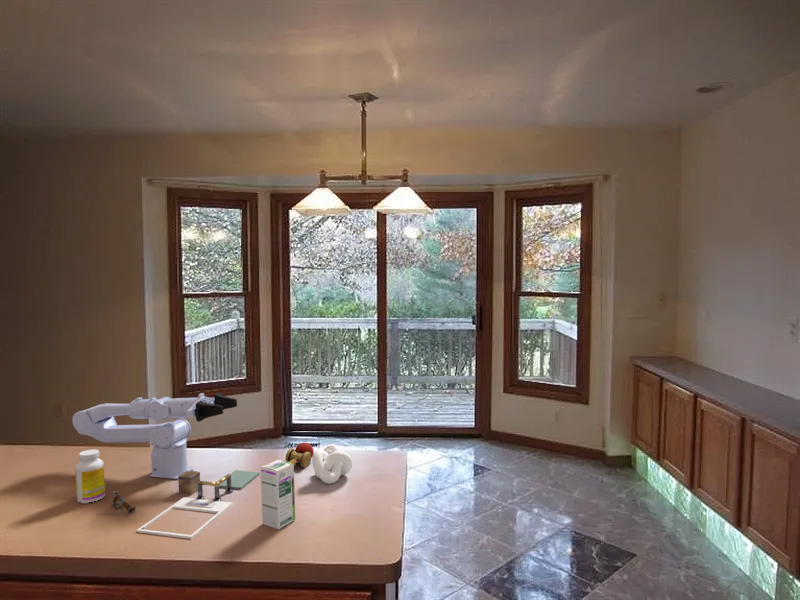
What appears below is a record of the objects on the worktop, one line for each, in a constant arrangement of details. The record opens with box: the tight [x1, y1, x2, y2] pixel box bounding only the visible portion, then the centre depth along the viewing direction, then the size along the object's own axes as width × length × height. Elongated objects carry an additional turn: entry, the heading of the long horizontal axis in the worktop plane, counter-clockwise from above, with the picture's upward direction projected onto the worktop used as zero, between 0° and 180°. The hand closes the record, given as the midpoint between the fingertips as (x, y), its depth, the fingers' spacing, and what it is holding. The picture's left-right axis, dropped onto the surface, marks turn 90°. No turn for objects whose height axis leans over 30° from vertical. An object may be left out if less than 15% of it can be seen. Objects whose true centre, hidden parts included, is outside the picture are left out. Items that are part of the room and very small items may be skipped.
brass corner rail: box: [195, 473, 234, 501], centre depth 145 cm, size 7×8×5 cm
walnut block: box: [177, 470, 201, 496], centre depth 148 cm, size 4×4×5 cm
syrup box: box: [259, 459, 296, 530], centre depth 130 cm, size 6×6×14 cm
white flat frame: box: [136, 497, 234, 540], centre depth 133 cm, size 15×1×18 cm
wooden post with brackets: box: [111, 490, 137, 515], centre depth 137 cm, size 2×8×4 cm, turn 62°
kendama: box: [284, 442, 315, 469], centre depth 165 cm, size 8×6×18 cm
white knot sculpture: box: [311, 443, 353, 485], centre depth 156 cm, size 11×12×9 cm
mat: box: [219, 469, 261, 490], centre depth 155 cm, size 8×11×1 cm
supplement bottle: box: [74, 449, 106, 504], centre depth 143 cm, size 7×7×13 cm
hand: (229, 406), depth 155 cm, fingers open, 7 cm apart
